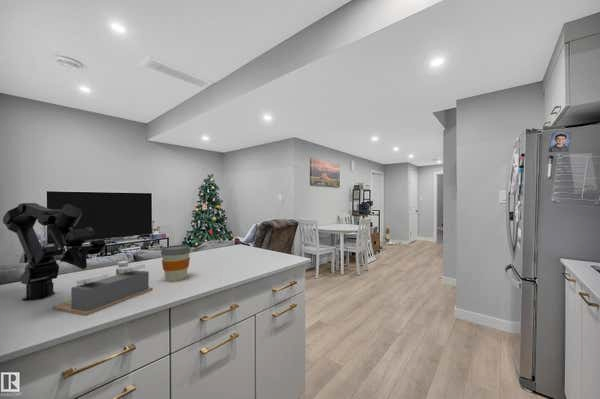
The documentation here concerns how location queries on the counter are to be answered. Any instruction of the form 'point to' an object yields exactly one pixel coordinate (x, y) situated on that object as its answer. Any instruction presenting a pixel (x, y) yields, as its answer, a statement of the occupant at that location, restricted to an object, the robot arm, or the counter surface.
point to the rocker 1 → (92, 279)
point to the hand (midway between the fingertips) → (84, 268)
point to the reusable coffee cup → (175, 262)
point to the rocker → (131, 268)
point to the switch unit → (106, 292)
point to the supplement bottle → (122, 266)
